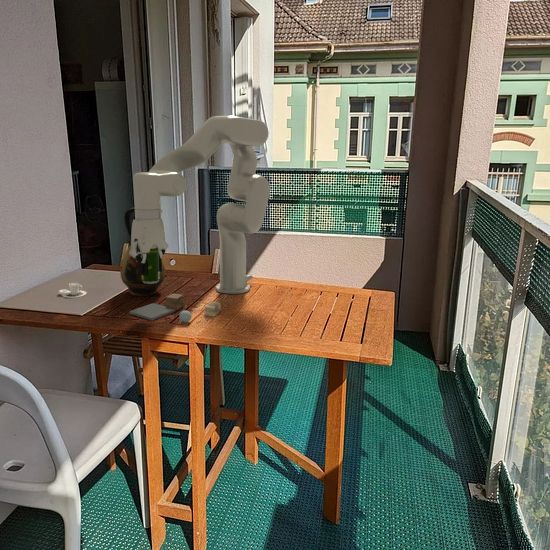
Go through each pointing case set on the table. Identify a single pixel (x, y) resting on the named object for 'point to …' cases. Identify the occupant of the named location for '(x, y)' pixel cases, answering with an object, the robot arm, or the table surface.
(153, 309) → the coaster
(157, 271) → the beer can
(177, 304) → the tan cube
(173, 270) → the table surface
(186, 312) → the grey ball
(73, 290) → the teacup and saucer
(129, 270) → the ceramic jug
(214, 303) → the beech block
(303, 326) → the table surface
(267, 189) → the robot arm
